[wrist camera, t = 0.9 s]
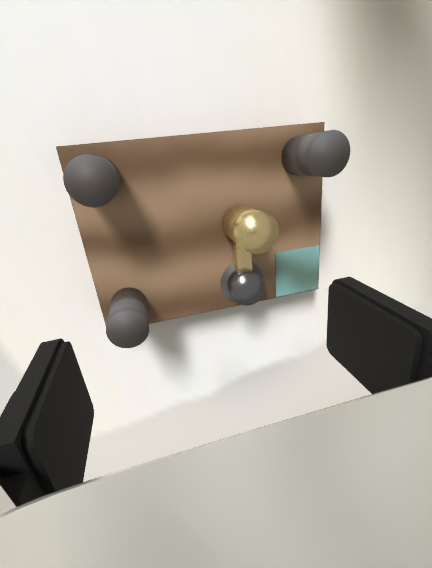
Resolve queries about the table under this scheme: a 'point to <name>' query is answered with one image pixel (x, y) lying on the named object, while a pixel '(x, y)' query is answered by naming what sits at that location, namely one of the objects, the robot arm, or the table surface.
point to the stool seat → (196, 217)
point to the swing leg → (248, 249)
